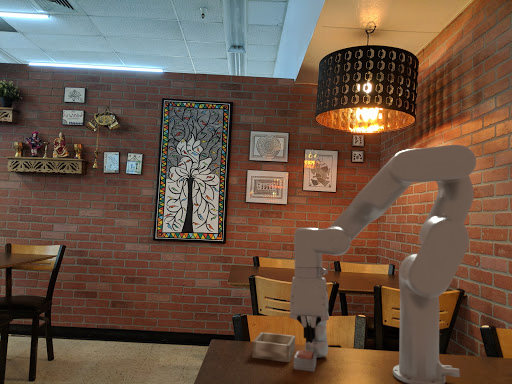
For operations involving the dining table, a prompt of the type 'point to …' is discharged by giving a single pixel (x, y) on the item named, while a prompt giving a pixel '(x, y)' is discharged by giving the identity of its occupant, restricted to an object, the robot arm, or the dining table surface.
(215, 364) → the dining table surface
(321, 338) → the plastic bottle
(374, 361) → the dining table surface
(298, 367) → the button housing
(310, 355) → the button
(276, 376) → the dining table surface
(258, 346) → the bottle caddy
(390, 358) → the dining table surface
